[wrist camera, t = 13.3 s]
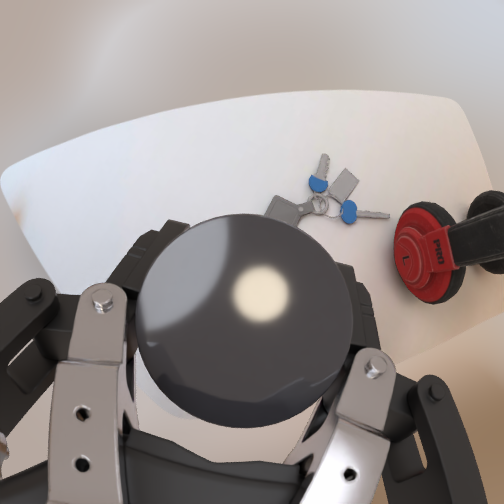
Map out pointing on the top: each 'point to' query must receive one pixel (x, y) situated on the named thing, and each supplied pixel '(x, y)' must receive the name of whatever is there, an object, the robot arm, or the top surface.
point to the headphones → (448, 245)
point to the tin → (243, 320)
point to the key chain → (318, 183)
